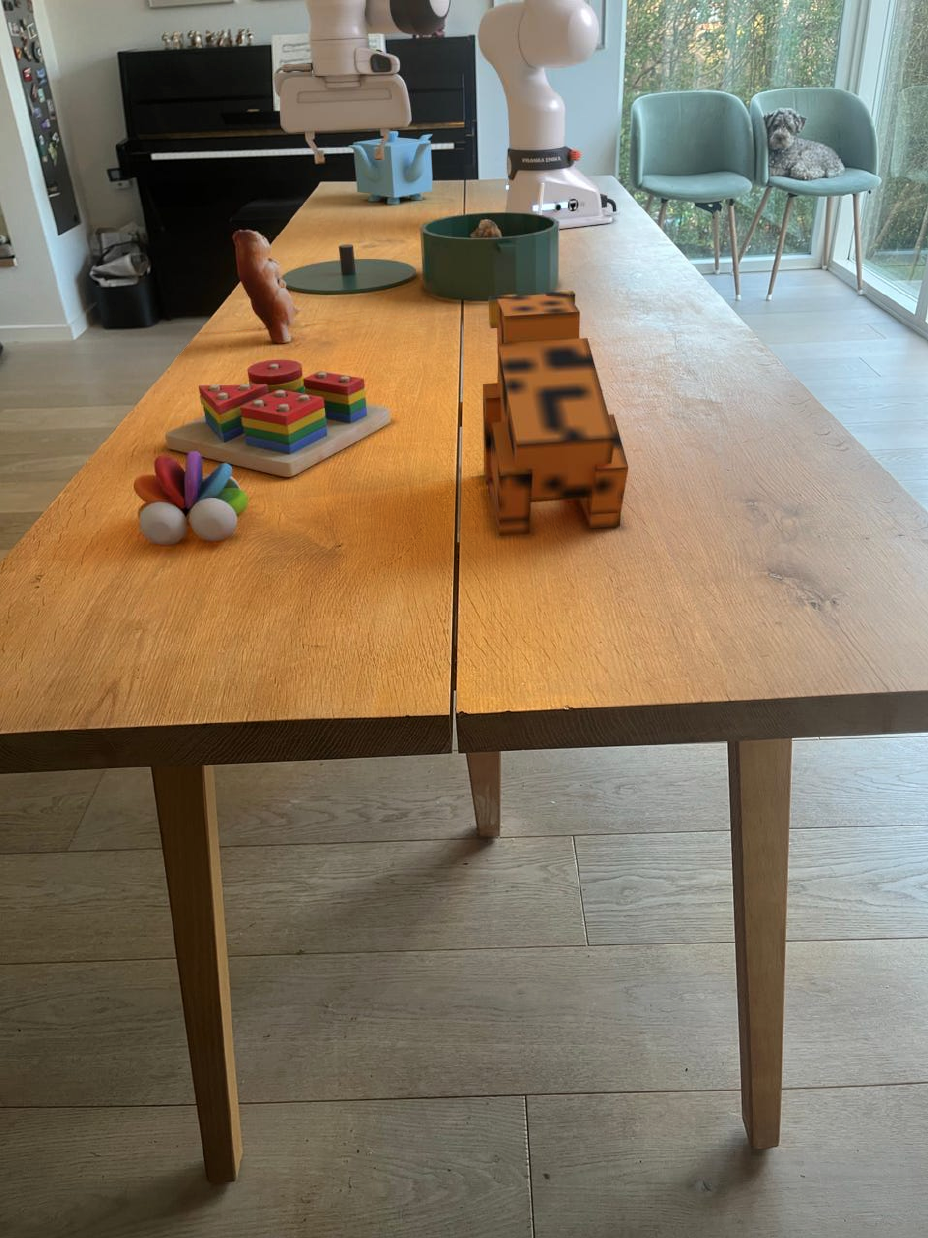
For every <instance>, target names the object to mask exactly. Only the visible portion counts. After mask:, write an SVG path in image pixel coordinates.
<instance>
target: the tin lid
mask: <svg viewBox="0 0 928 1238" xmlns="http://www.w3.org/2000/svg"><path fill="white" fill-rule="evenodd" d="M338 253H339V259H337V260H336V259H335V260H329V261H323V262H316V263H311V264H307V265H304V266H300V267H297V268H294V269H291V270H288V271H287V272H285V273H284V274H283V275H282V278H281V279H282V280H284V281H285V282H286V289H287V290H291V291H294V292H299V293H304V294H311V295H314V294H315V295H348V294H349V295H352V294H362V293H370V292H376V291H382V290H387V289H391V288H394V287H398V286H401V285H404V284H407V283H408V282H410V281H413V279H415V278H416V275H417V271H416V268H415V267H414V266H413V265H411V264H409V263H406V262H402V261H398V260H391V259H381V258H355V249H354V245H353V244H347V243H346V244H341V245H339V246H338Z"/></svg>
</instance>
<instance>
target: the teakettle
mask: <svg viewBox="0 0 928 1238" xmlns="http://www.w3.org/2000/svg"><path fill="white" fill-rule="evenodd" d="M389 132H390V136H389V139H388V141H387V143H386V145H385V148H384V160H375V152H374V147H379V146H380V144H381V141H382V139H383V138H377V139H376V138H375V139H369V140H368V139H367V140H362V141H356V142H353V143H352V145H348V148H350V149H352V150H353V158H354V167H355V168H354V169H355V180H356V181H355V182H356V191H357V192H356V193H360V194H367V195H370V197H369V199H368V202H371V203H372V202H373V203H374V202H380V201H381V200H382V197H387V201H386V204H387V205H390V206H391V205H393V206H394V205H400V203H401V201H400V198H401V197H406V196H409V199H410V200H411V201H420V200H423V199H424V198H423V197H422V195H421V194H423V193H427V192H433V191H434V185H433V184H434V183H433V164H432V163H433V162H432V161H433V160H432V143H431V140H429V139H430V138H431V137H432V136H433V133H430V134H423V135H421V136H420V138H419V139H416V138H408V137H398V136H399V131H397V130H389Z"/></svg>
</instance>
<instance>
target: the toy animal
mask: <svg viewBox="0 0 928 1238" xmlns="http://www.w3.org/2000/svg"><path fill="white" fill-rule="evenodd" d="M580 316H581V311H580V309H579V308H578V307H577V305H576V293H575V292H574V291H573V290H566V291H565V290H564V291H553V292H548V293H545V294H544V295H528V296H517V294H515V295H498V296H489V301H488V322H489V323H488V325H489V328H490V329H496V335H497V336H496V342H497V343H496V344H497V347H496V348H497V379H496V380H497V382H492V383H483V384H482V425H483V427H482V430H483V431H482V432H483V433H482V434H483V436H482V437H483V472H484V478H485V484H486V485H487V489H488V490H487V491H488V495H489V499H490V502H491V506H492V510H493V515H494V519H495V523H496V526H497V531H498V535H499V536H504V535H506V536H507V535H517V534H530V533H531V508H532V507H531V506H532V503H538V502H539V503H540V502H554V501H555V502H556V501H568V500H577V501H578V503H579V506H580V508H581V510H582V512H583V515H584V518H585V520H586V523H587V525H588V527H589V529H601V528H603V529H604V528H617V527H621V520H622V519H621V517H622V508H623V504H624V503H623V502H624V496H625V490H626V485H627V479H628V474H629V464H628V460H627V456H626V453H625V449H624V445H623V442H622V438H621V435H620V432H619V428H618V425H617V421H616V418H615V414H614V413H611V414H609V411H608V408H607V404H606V400H605V397H604V393H603V389H602V386H601V382H600V377H599V374H598V371H597V367H596V364H595V360H594V356H593V353H592V349H591V346H590V341H589V339H588V337H582V338H580V326H581V325H580V323H581V322H580V320H581V317H580Z"/></svg>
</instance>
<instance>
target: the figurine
mask: <svg viewBox="0 0 928 1238" xmlns="http://www.w3.org/2000/svg"><path fill="white" fill-rule="evenodd" d="M232 240H233V244H234V245H235V258H236V265H237V275H238V279H239V281H240V283H241V285H242V287H243V290H244V291H245V293H246V295H247V297H248V298H249V300H250V304H251V309H252V310H253V312H254V314H255V316H257V317H258V319H259V321H261V322H262V324H263V325H264V327H265V328H266V330H267V331H268V336H269V338H270V340H271V342H273V343H275V344H285V343H290V342H291V341H292V335H291V333H289V331H288V328H289V327H290V326H291V324H292V322H293V321H294V319H295V318H296V317H297V315H298V314H299V313H300V312H301V311H302V308H301V307H297V306H294V303H293V302H294V301H293V298H292V296H291V294H290V293H289V291H288V289H287V288H286V282H285V281H284V280H282V279H281V278H282V276H283V275H282V268H281V266H280V264H279V262H278V260H277V259H275V258H273V257H270V258H269V256H270V253H271V249H272V247H271V244H270V243H269V240H268V239H267V238H266V237H265V236H263V235H262V234H261V233H259V231H256V230H255V231H253V230H251V229H244V230H242V229H239V230H237V231H235V232H234V233H233V235H232Z"/></svg>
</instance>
